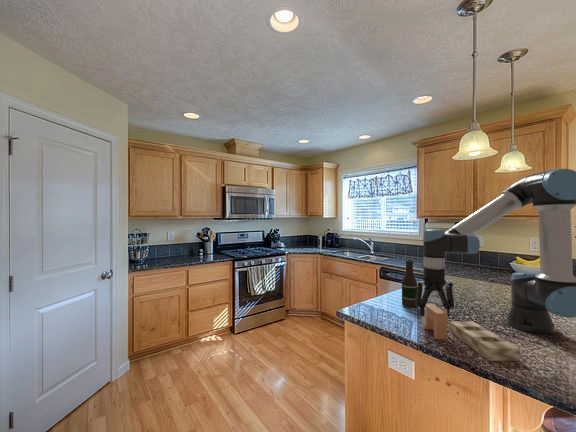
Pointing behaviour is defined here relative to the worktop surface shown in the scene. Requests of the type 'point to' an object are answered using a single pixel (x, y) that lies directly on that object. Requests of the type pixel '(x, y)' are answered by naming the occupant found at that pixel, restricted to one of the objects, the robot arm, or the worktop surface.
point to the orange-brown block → (436, 321)
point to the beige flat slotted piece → (485, 341)
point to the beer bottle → (409, 286)
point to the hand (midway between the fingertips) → (434, 324)
